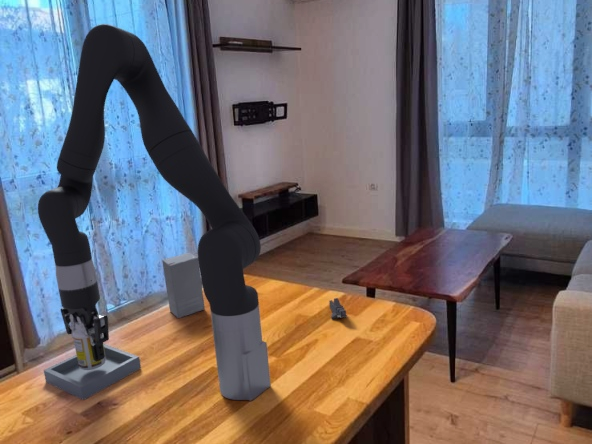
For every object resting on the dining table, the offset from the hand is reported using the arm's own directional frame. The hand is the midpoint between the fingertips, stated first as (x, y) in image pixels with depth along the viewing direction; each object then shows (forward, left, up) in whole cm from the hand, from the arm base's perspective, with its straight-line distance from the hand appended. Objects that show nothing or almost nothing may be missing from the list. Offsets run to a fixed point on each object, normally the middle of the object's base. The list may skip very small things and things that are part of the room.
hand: (91, 355), depth 110 cm
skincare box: (+7, -34, -5) cm, 35 cm away
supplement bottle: (0, 0, -2) cm, 2 cm away
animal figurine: (-32, -50, -5) cm, 59 cm away
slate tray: (0, 0, -4) cm, 4 cm away
